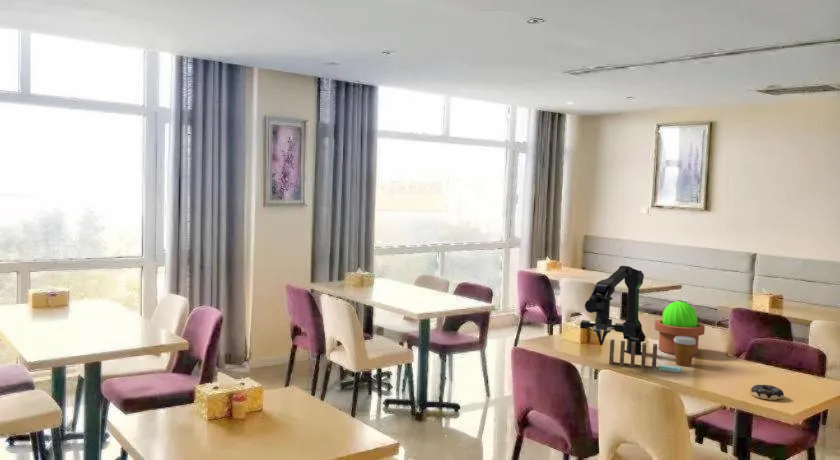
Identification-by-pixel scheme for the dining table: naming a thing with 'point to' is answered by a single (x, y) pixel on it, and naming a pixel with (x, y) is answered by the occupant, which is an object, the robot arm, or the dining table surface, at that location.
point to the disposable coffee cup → (684, 350)
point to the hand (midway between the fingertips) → (601, 345)
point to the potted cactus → (678, 326)
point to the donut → (767, 392)
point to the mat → (669, 368)
